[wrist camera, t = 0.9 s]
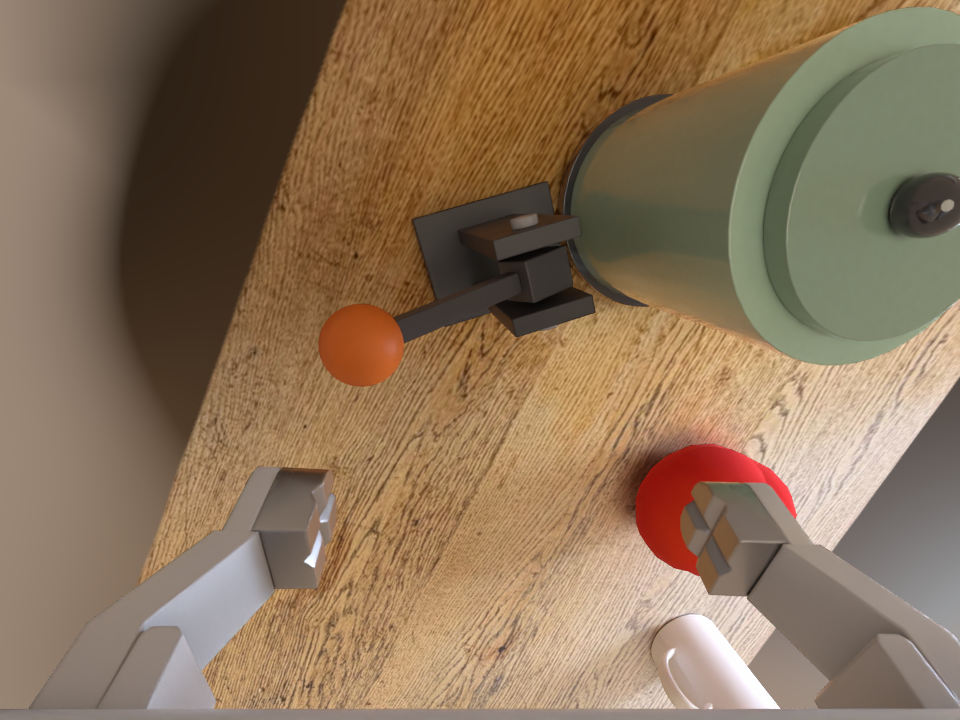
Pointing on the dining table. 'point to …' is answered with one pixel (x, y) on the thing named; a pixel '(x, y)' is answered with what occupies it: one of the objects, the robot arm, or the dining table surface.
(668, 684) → the mug
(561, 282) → the switch
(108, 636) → the robot arm
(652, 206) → the green canister
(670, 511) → the tomato
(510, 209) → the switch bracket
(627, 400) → the dining table surface
